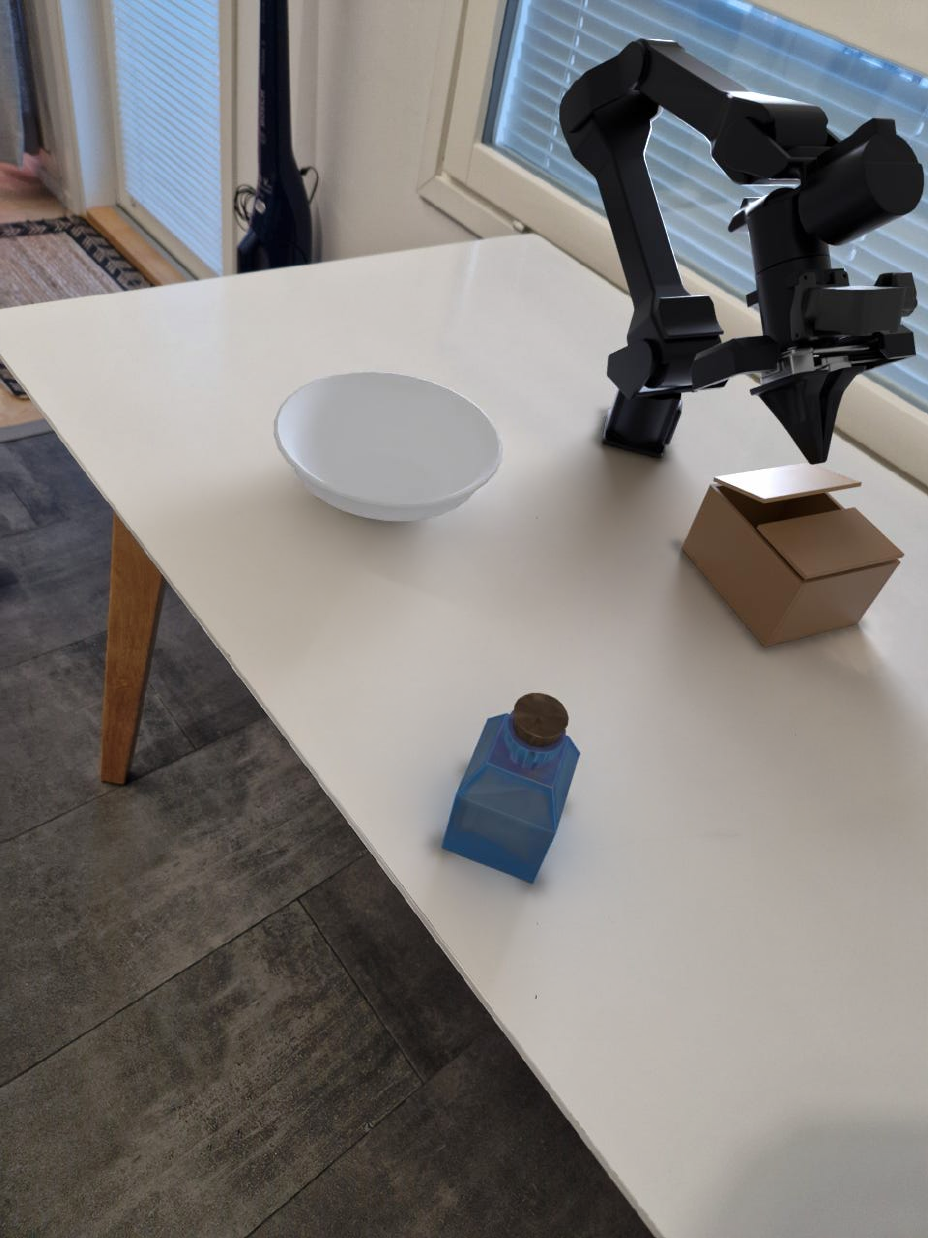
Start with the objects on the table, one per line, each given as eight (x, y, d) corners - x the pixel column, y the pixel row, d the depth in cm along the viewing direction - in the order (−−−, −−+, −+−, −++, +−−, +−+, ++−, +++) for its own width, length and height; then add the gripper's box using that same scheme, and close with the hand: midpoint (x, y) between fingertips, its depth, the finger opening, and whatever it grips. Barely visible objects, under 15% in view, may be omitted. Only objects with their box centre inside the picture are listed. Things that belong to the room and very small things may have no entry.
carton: (681, 548, 80) (713, 476, 75) (771, 530, 84) (807, 462, 79) (764, 647, 73) (806, 576, 67) (858, 623, 77) (906, 554, 71)
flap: (713, 481, 75) (713, 476, 75) (806, 466, 79) (807, 462, 79) (763, 503, 70) (764, 498, 70) (861, 486, 74) (862, 481, 74)
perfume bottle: (557, 806, 59) (605, 695, 50) (533, 884, 54) (581, 777, 46) (472, 773, 59) (505, 658, 51) (441, 847, 55) (471, 735, 47)
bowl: (533, 505, 81) (548, 449, 77) (378, 597, 70) (385, 537, 65) (388, 405, 89) (393, 349, 85) (227, 473, 78) (224, 412, 73)
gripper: (774, 229, 58) (806, 461, 60) (964, 226, 65) (989, 432, 67) (673, 287, 69) (702, 483, 70) (847, 278, 76) (870, 456, 77)
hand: (818, 463), depth 71 cm, fingers closed
